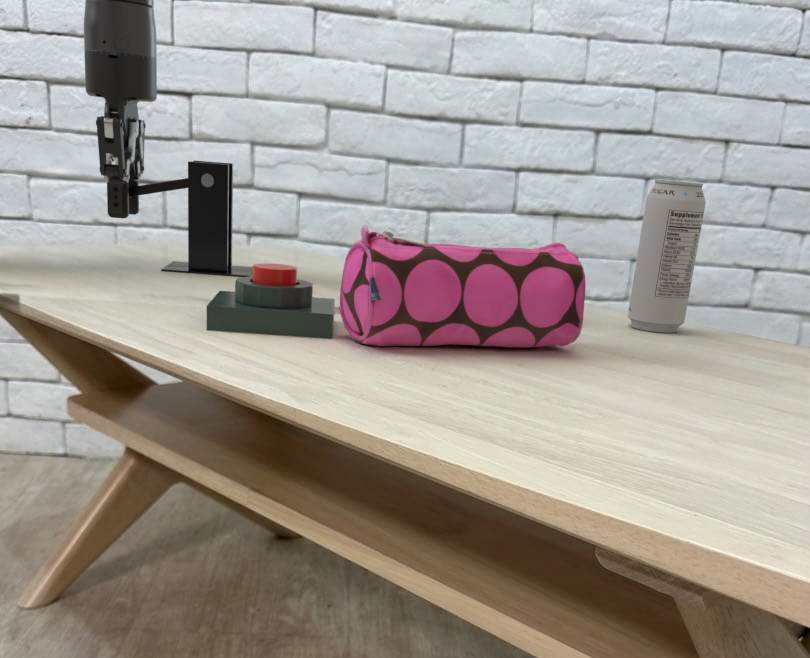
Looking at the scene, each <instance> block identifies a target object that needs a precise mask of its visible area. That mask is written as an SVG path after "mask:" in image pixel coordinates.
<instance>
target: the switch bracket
mask: <svg viewBox="0 0 810 658" xmlns="http://www.w3.org/2000/svg"><path fill="white" fill-rule="evenodd" d="M187 178H188V188H187V225H188V226H187V246H188V247H187V249H188V253H187V254H188V255H187V257H188V258H187V259H188V261H177V260H176V261H175V260H173V261H172V262H169V263H168V264H167V265H166V266H164V267H163V268H161V272H163V273H164V272H165V273H166V272H167V273H179V274H193V275H195V274H196V275H207V276H221V277H234V278H235V277H236V278H241V277H249V276H252V275H253V266H245V265H233V218H234V217H233V214H234V213H233V210H234V205H233V203H234V163H231V162H220V161H219V162H218V161H206V160H193V161H192V160H191V161H189V160H188V161H187Z"/></svg>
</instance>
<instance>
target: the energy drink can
mask: <svg viewBox="0 0 810 658" xmlns="http://www.w3.org/2000/svg"><path fill="white" fill-rule="evenodd" d="M703 186H704V184H703V183H701V182H690V181H682V180H681V181H680V180H679V181H678V180H668V179H667V180H666V179H654V185H653V187H652V188H651V190H650V191H649V192H648V193H647V195H646V197H645V204H644V211H643V216H642V222H641V229H640V235H639V242H638V248H637V254H636V260H635V266H634V273H633V280H632V285H631V292H630V297H629V305H628V311H627V318H628V319H629V320H630V322H631V324H630V325H631V327H632V328H634V329H637V330H641V331H646V332H652V333H665V334H670V333H677V332H678V330H679V328H680V326H682V325H683V324H685V320H686V314H687V309H688V305H689V298H690V293H691V287H692V282H693V276H694V270H695V265H696V259H697V253H698V249H699V243H700V242H699V241H700V237H701V232H702V227H703V226H702V225H703V220H704V214H705V209H706V204H707V200H706V198H705V194H704V192H703Z"/></svg>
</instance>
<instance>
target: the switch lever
mask: <svg viewBox="0 0 810 658" xmlns="http://www.w3.org/2000/svg"><path fill="white" fill-rule="evenodd" d="M182 189H188V177H187V178H186V177H185V178H180V179H173V180H166V181H159V182H153V183H149V184H148V183H147V184H141V185H140V184H139V186H133V187H132V186H130V185H129V198H132V197H133V196H138V195H139V196H144V195H145V196H146V195H151V194H156V193H163V192H170V191H171V192H172V191H177V190H182Z"/></svg>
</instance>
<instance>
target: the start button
mask: <svg viewBox="0 0 810 658" xmlns="http://www.w3.org/2000/svg"><path fill="white" fill-rule="evenodd" d="M252 267H253V275H252V283H257V284H263V285H273V286H294V285H297V279H298V267H296V266H294V265H289V264H282V263H254V264H253V265H252Z"/></svg>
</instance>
